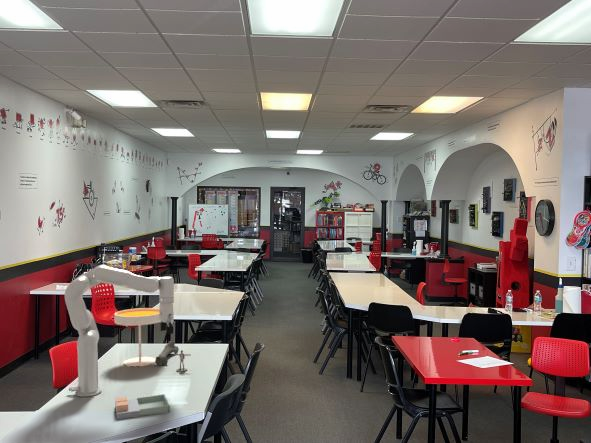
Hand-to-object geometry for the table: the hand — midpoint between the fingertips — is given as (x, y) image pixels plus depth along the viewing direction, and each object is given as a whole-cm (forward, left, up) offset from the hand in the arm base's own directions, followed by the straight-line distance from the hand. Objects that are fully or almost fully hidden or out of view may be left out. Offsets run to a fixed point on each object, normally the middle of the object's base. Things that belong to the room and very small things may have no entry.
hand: (166, 332), depth 285 cm
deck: (-22, -30, -29) cm, 48 cm away
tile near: (-25, -33, -26) cm, 49 cm away
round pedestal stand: (-9, +55, -29) cm, 63 cm away
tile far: (-25, -27, -26) cm, 45 cm away
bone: (+6, +55, -29) cm, 63 cm away
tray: (-11, -30, -29) cm, 43 cm away
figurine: (+12, +26, -29) cm, 41 cm away
